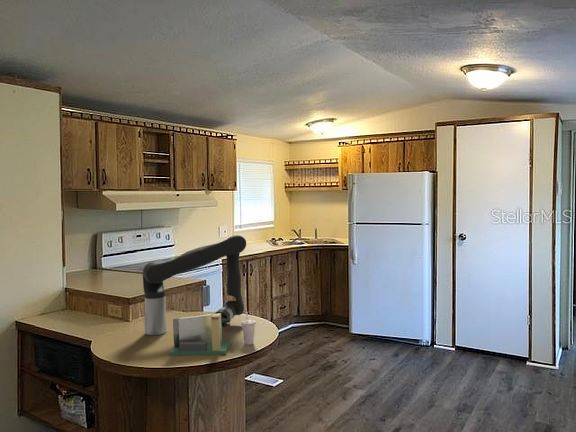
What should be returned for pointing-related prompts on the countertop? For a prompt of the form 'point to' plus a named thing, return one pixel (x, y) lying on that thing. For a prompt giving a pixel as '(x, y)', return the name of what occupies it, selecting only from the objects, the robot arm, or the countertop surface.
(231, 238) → the robot arm
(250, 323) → the smoothie
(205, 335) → the white upright panel
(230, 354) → the countertop surface
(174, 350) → the bracket
